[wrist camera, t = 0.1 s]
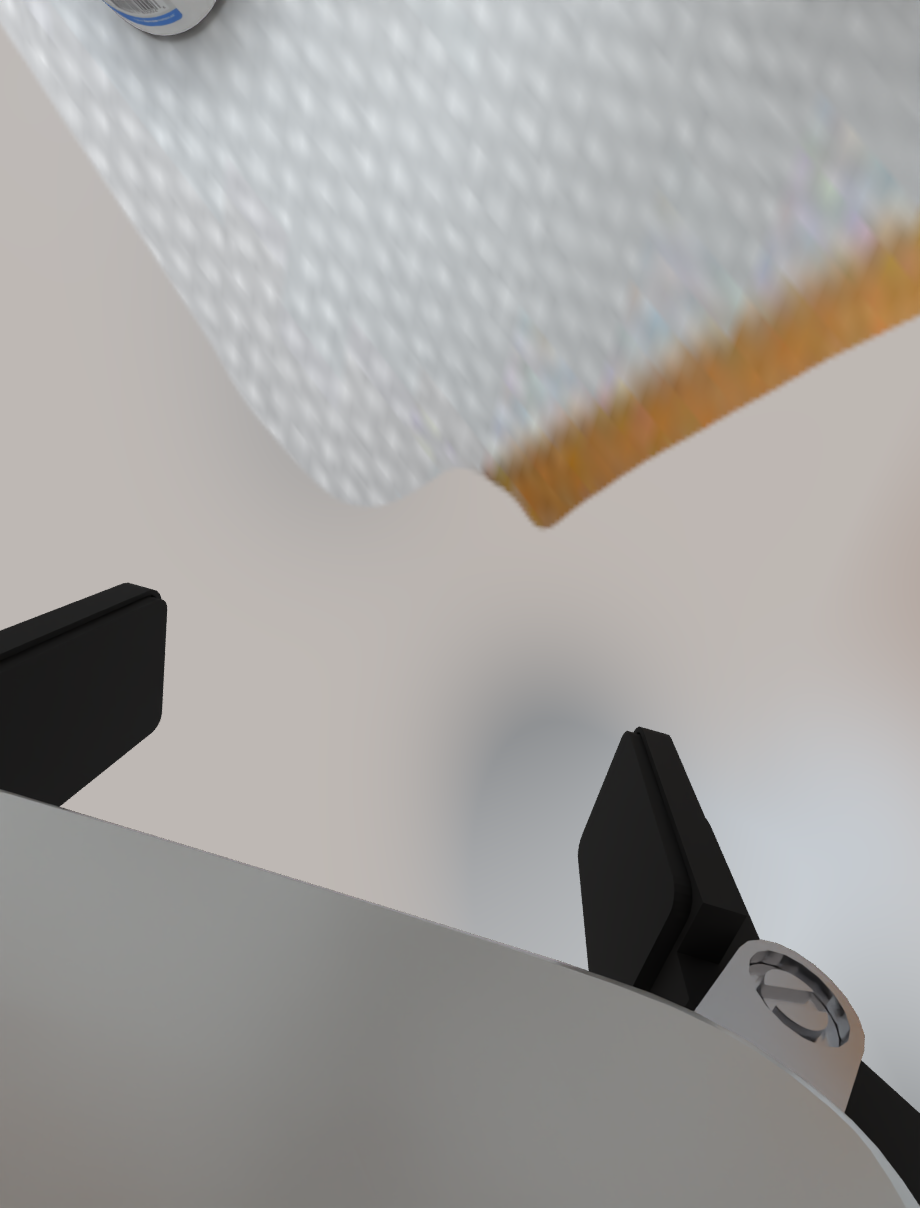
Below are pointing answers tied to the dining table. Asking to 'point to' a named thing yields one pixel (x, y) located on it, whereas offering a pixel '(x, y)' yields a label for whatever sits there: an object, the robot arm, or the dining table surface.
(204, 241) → the dining table surface
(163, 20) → the supplement tub
